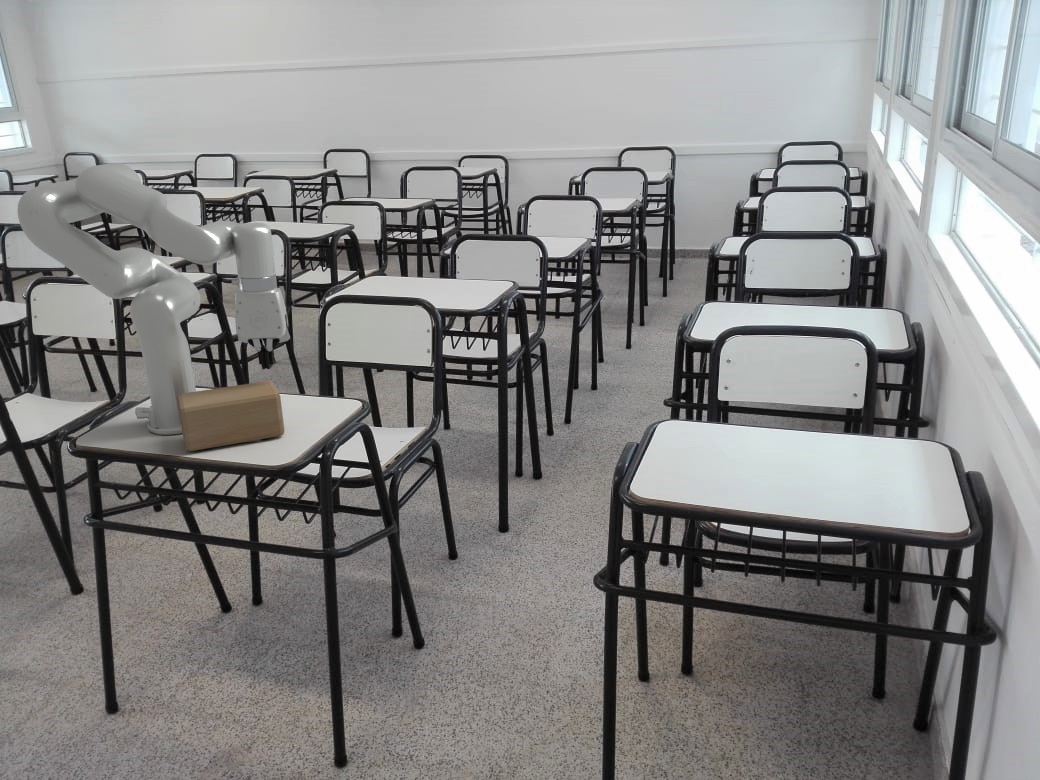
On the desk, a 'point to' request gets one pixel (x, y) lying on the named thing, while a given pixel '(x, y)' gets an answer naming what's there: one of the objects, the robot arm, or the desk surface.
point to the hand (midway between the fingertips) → (267, 367)
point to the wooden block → (230, 415)
